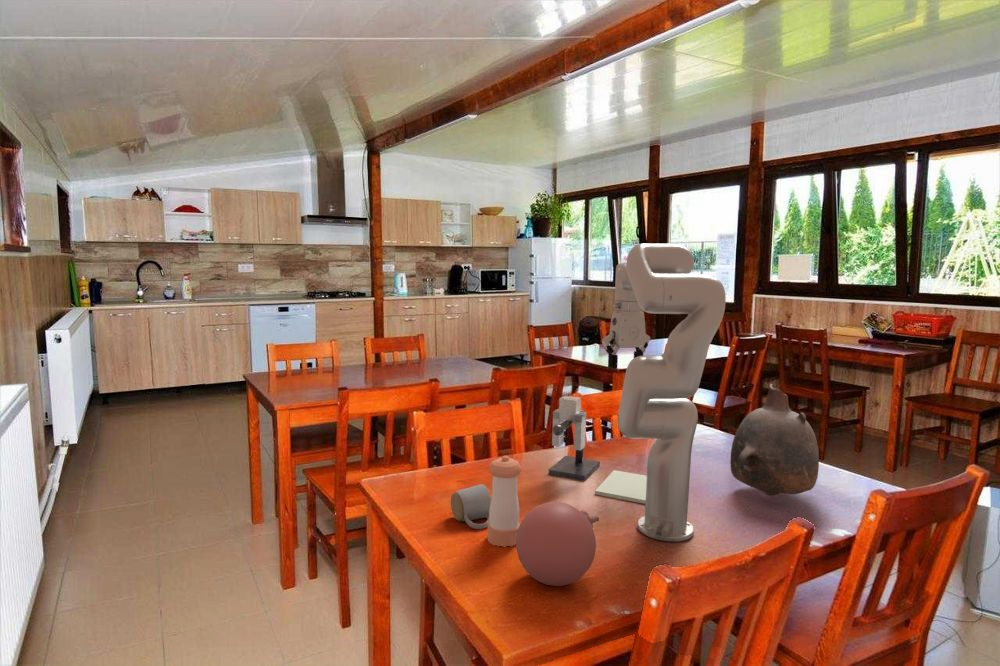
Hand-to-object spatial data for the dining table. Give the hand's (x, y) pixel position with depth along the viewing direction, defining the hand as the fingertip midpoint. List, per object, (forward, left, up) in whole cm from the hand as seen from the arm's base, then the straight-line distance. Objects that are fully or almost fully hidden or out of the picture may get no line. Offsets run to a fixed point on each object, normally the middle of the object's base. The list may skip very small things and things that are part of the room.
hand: (625, 366), depth 175 cm
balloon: (-62, -5, -32) cm, 70 cm away
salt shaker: (-53, +12, -32) cm, 63 cm away
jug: (+4, -40, -32) cm, 51 cm away
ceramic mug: (-48, +23, -32) cm, 62 cm away
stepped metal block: (-9, +13, -23) cm, 28 cm away
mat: (-9, -7, -32) cm, 34 cm away
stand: (-8, +13, -32) cm, 35 cm away
